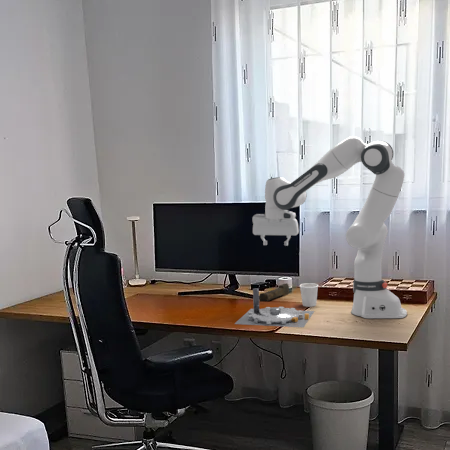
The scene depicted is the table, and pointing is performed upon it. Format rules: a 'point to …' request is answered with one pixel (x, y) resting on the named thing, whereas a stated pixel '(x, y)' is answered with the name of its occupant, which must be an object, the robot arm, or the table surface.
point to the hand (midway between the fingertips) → (275, 245)
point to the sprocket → (272, 313)
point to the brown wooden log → (274, 293)
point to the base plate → (299, 323)
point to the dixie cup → (309, 294)
